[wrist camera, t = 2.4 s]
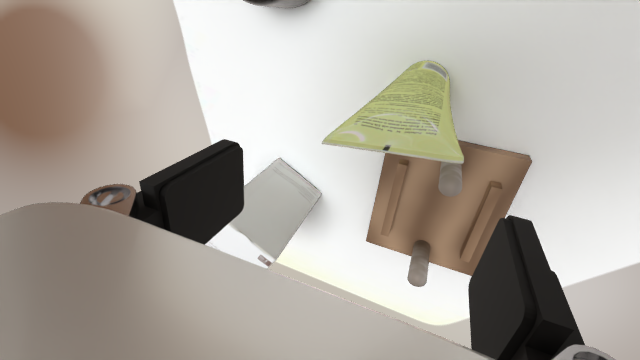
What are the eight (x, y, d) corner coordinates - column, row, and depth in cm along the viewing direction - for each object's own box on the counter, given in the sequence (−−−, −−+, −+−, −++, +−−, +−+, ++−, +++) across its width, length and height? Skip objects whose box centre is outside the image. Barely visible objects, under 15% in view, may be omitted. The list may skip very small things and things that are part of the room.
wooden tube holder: (529, 155, 31) (547, 189, 25) (474, 269, 39) (478, 315, 33) (393, 126, 35) (379, 148, 29) (368, 234, 43) (353, 270, 37)
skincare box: (262, 181, 46) (191, 239, 34) (280, 154, 43) (209, 208, 30) (304, 217, 46) (249, 289, 34) (326, 193, 43) (273, 263, 30)
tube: (412, 121, 34) (372, 211, 18) (385, 84, 33) (319, 143, 17) (460, 89, 31) (465, 164, 15) (432, 47, 30) (404, 78, 14)
